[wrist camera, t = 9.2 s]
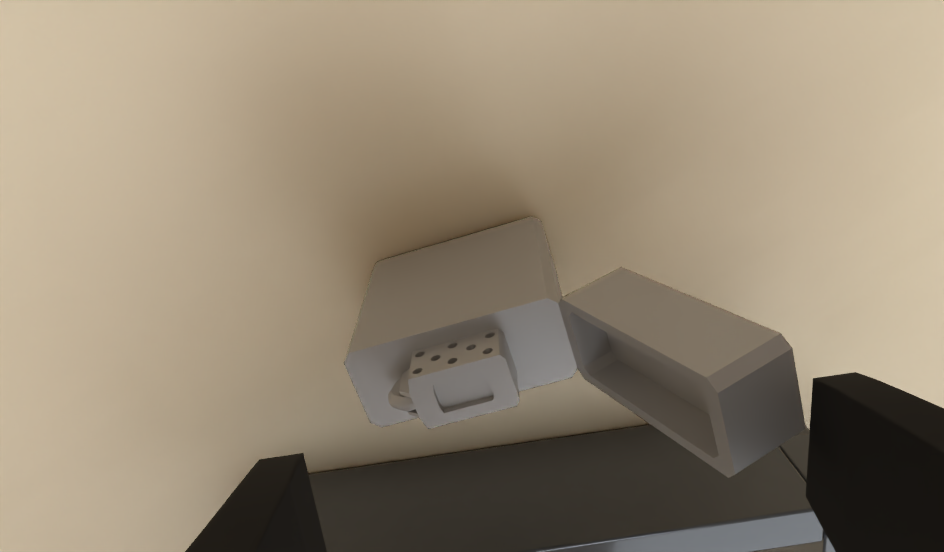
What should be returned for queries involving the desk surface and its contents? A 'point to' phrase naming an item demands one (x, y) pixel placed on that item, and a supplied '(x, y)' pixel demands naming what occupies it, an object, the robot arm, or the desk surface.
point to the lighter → (566, 346)
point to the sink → (573, 500)
